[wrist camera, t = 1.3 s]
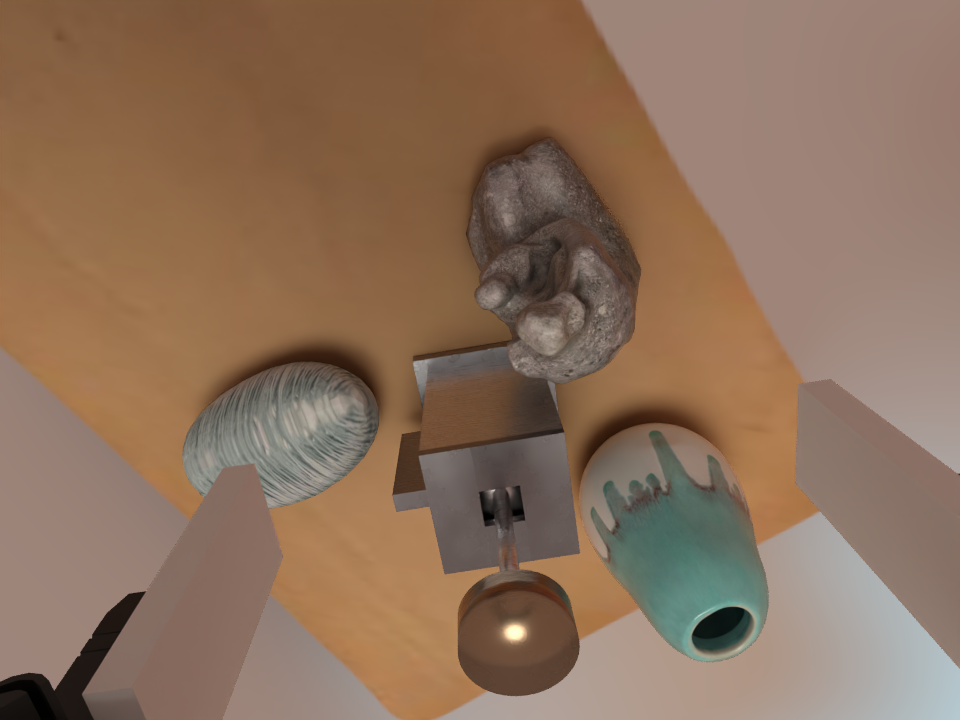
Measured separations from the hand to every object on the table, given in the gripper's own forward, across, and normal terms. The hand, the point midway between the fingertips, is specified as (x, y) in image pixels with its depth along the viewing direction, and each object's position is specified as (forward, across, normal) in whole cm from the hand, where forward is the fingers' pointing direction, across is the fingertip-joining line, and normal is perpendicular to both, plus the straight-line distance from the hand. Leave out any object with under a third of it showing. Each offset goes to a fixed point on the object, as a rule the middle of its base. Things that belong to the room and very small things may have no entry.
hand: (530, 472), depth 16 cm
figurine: (+33, +4, -2) cm, 33 cm away
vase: (+33, +10, -21) cm, 40 cm away
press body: (+33, -1, -14) cm, 35 cm away
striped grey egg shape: (+33, -16, -12) cm, 38 cm away
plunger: (+21, -1, -13) cm, 25 cm away
